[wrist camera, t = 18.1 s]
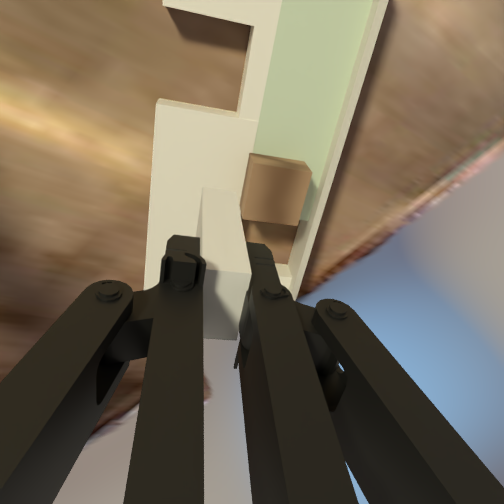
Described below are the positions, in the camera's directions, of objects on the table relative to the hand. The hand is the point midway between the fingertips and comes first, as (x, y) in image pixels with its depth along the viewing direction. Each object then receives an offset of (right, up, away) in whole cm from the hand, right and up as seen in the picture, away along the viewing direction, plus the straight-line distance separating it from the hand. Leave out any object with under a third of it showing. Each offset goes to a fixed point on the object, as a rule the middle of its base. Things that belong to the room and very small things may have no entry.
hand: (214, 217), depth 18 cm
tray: (0, +9, +26) cm, 27 cm away
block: (+4, +6, +24) cm, 25 cm away
